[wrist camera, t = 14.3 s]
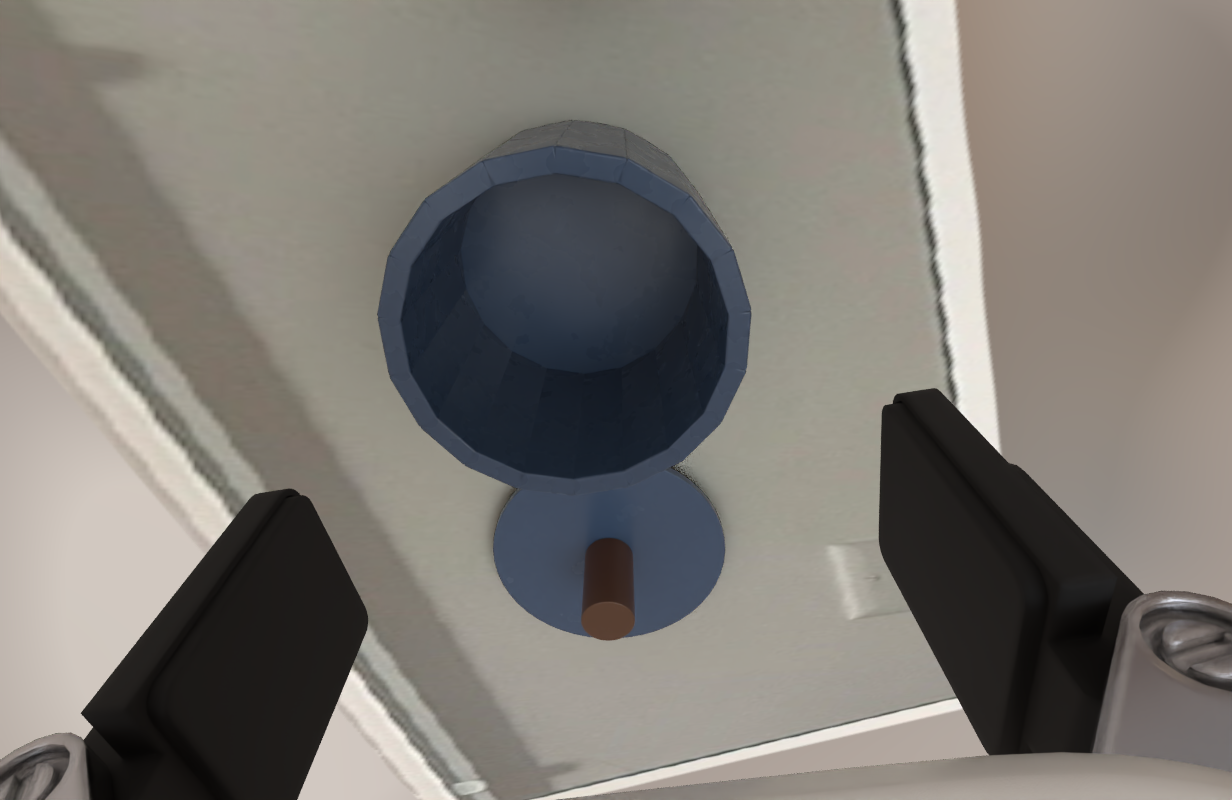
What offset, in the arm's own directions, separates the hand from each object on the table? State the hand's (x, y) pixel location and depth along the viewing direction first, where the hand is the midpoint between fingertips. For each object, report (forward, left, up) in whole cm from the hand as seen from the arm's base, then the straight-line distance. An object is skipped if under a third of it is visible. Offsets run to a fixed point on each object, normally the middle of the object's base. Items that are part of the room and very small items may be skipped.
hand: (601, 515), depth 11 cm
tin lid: (+19, -4, -21) cm, 29 cm away
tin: (+2, -2, -22) cm, 22 cm away
